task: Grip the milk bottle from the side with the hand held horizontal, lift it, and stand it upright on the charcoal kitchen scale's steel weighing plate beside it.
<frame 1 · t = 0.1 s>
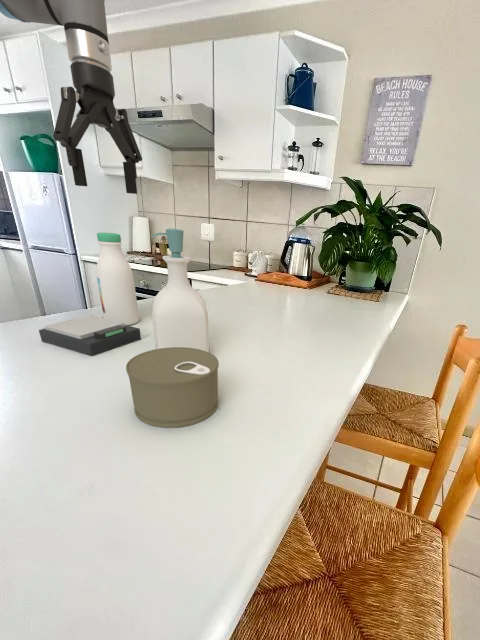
hand: (108, 190, 74), 29 cm above the countertop, tool pointing down, fingers open, 13 cm apart
can: (178, 406, 47), on the countertop
kitchen scale: (93, 340, 68), on the countertop
soap bottle: (183, 355, 65), on the countertop
milk bottle: (122, 322, 80), on the countertop
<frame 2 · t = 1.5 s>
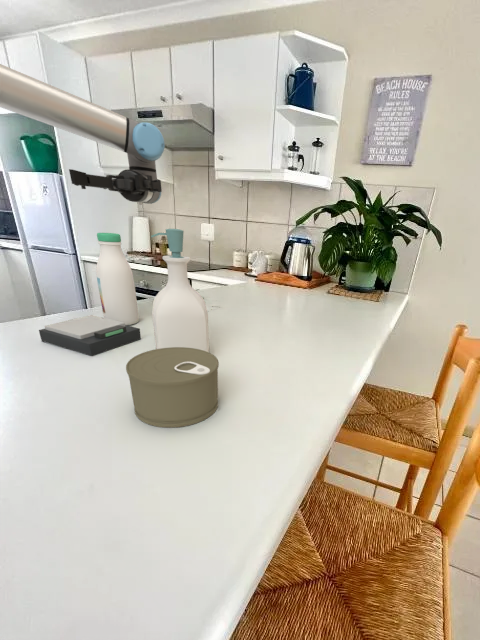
hand: (105, 179, 71), 31 cm above the countertop, tool horizontal, fingers open, 13 cm apart
nothing on the countertop moved.
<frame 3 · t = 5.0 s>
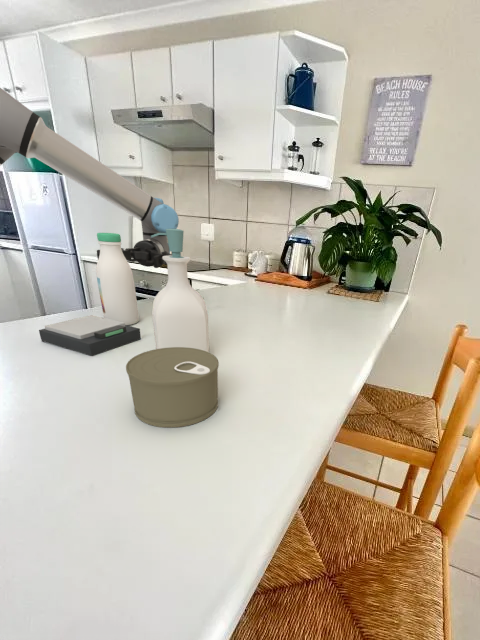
hand: (127, 260, 83), 13 cm above the countertop, tool horizontal, fingers open, 13 cm apart
nothing on the countertop moved.
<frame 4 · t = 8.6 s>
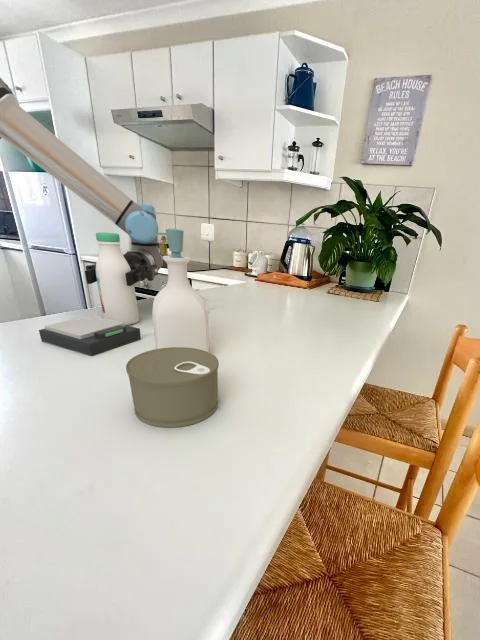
hand: (108, 278, 71), 11 cm above the countertop, tool horizontal, fingers closed on milk bottle, 8 cm apart
milk bottle: (122, 322, 80), on the countertop, touching gripper
everything else where it was.
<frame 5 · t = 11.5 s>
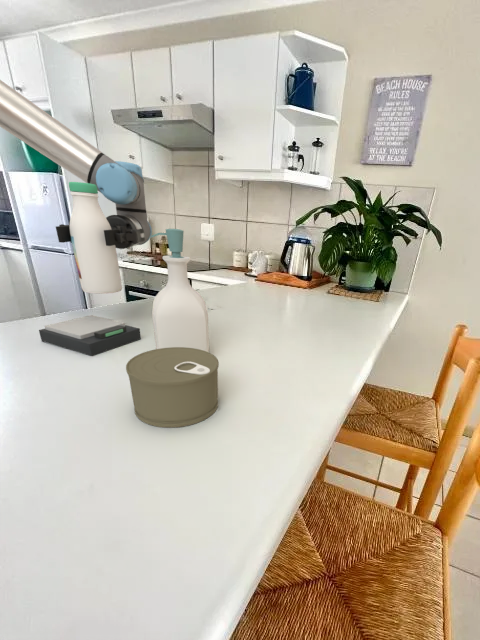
hand: (83, 236, 61), 20 cm above the countertop, tool horizontal, fingers closed on milk bottle, 8 cm apart
milk bottle: (103, 291, 70), point 9 cm above the countertop, touching gripper
everything else where it was.
when the fingers open (14 cm above the countertop, at t = 14.8 s): milk bottle stays where it is, resting on kitchen scale.
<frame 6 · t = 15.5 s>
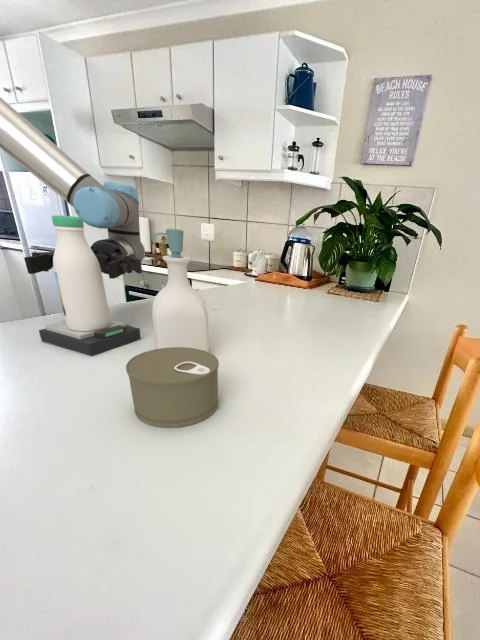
hand: (69, 268, 58), 15 cm above the countertop, tool horizontal, fingers open, 13 cm apart
milk bottle: (90, 327, 66), point 3 cm above the countertop, touching kitchen scale
everything else where it was.
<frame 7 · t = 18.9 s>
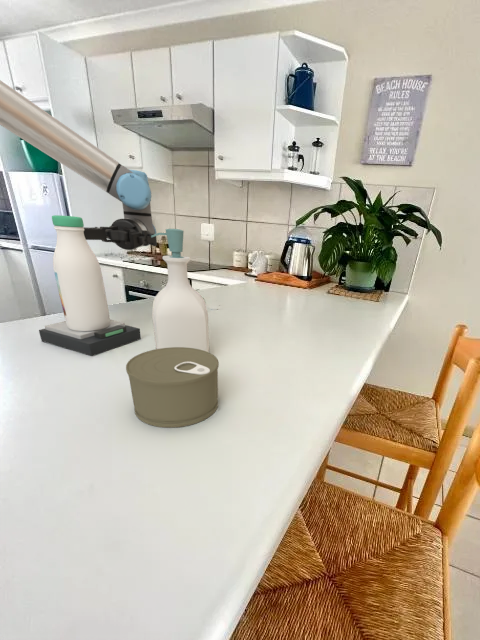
hand: (98, 238, 69), 19 cm above the countertop, tool horizontal, fingers open, 13 cm apart
nothing on the countertop moved.
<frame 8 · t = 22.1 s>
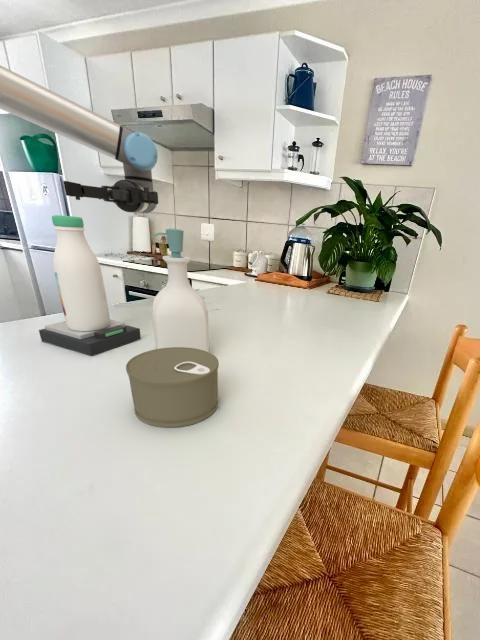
hand: (100, 191, 70), 28 cm above the countertop, tool horizontal, fingers open, 13 cm apart
nothing on the countertop moved.
at the end: milk bottle inside the target area on the kitchen scale (1.3 cm from its centre), point 3.0 cm above the kitchen scale's base; milk bottle tilted 0°; the gripper is holding nothing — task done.
